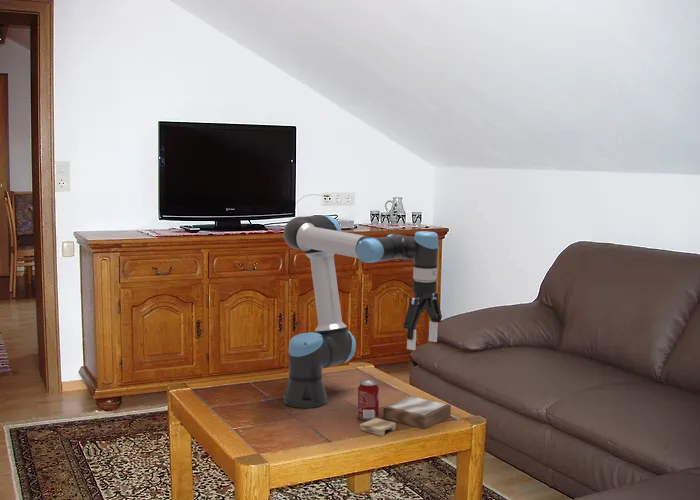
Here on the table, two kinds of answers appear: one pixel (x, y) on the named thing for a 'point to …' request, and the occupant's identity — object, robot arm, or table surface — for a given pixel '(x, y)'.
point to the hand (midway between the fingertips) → (422, 345)
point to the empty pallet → (377, 426)
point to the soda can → (368, 400)
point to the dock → (417, 412)
